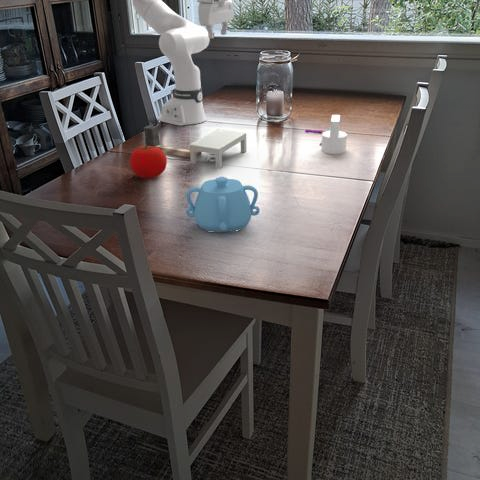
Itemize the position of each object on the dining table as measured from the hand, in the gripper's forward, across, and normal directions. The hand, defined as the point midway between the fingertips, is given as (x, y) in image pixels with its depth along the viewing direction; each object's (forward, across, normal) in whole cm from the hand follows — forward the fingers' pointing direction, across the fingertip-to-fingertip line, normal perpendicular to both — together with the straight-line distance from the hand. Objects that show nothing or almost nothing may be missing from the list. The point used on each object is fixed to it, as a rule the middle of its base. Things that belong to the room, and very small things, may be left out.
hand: (217, 36), depth 193 cm
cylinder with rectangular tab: (+38, -1, +48) cm, 61 cm away
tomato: (+38, +49, 0) cm, 62 cm away
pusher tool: (+38, +27, -6) cm, 47 cm away
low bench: (+38, +23, +12) cm, 46 cm away
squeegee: (+39, -18, +36) cm, 55 cm away
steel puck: (+38, +27, +12) cm, 49 cm away
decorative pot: (+38, +70, +39) cm, 89 cm away
